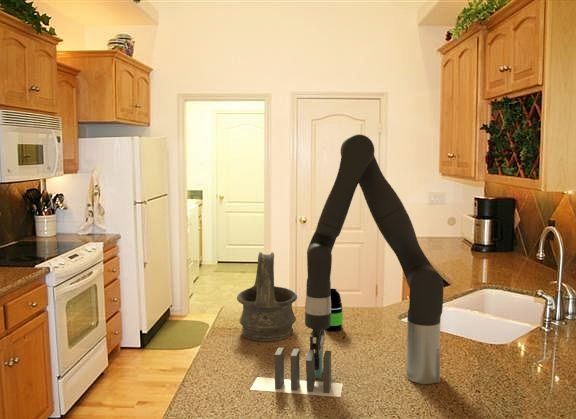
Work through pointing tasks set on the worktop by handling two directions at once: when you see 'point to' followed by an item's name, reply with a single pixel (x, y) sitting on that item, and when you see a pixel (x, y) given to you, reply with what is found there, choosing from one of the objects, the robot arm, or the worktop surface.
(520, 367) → the worktop surface
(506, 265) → the worktop surface
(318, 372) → the domino
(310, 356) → the domino
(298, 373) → the domino
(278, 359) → the domino
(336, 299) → the bottle
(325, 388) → the domino
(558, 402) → the worktop surface
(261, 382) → the strip
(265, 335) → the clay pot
